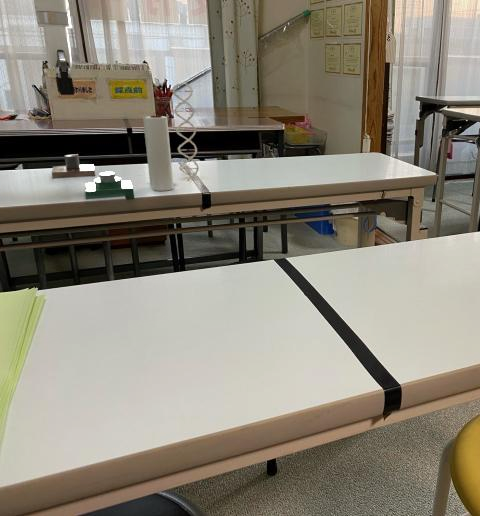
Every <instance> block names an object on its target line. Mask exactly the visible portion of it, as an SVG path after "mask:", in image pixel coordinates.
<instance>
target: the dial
mask: <svg viewBox="0 0 480 516" xmlns="http://www.w3.org/2000/svg"><path fill="white" fill-rule="evenodd" d="M79 156H80V155H79V154H78V153H77V154H66V155H64V163H65V166H66V169H79V168H80V165H81V164H80V158H79Z"/></svg>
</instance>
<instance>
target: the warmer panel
mask: <svg viewBox="0 0 480 516" xmlns="http://www.w3.org/2000/svg"><path fill="white" fill-rule="evenodd" d="M51 176H52V179H70V178H86V177H96V173H95V165H94V163H93V164H80V168H79V169H66V165H56V166H55V165H54V166H52V170H51Z"/></svg>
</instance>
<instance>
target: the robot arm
mask: <svg viewBox="0 0 480 516" xmlns="http://www.w3.org/2000/svg"><path fill="white" fill-rule="evenodd" d="M33 3H34V4H33V5H34V11H35V17H36V22H37V23H36V24H37V27H39V28H42V29H43V40H44V45H45V51H46V52H45V53H46V57H47V64H48V67H49V69H50V70H54V69H55V81H56V88H57V92H58V93H59V94H60V96H74V95H75V89H74V83H73V78H72V75H71V70H72V68H73V65H72V54H71V46H70V45H71V44H70V37H69V31H68V29H73V22H72V17H71V9H70V4H69V0H33Z"/></svg>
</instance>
